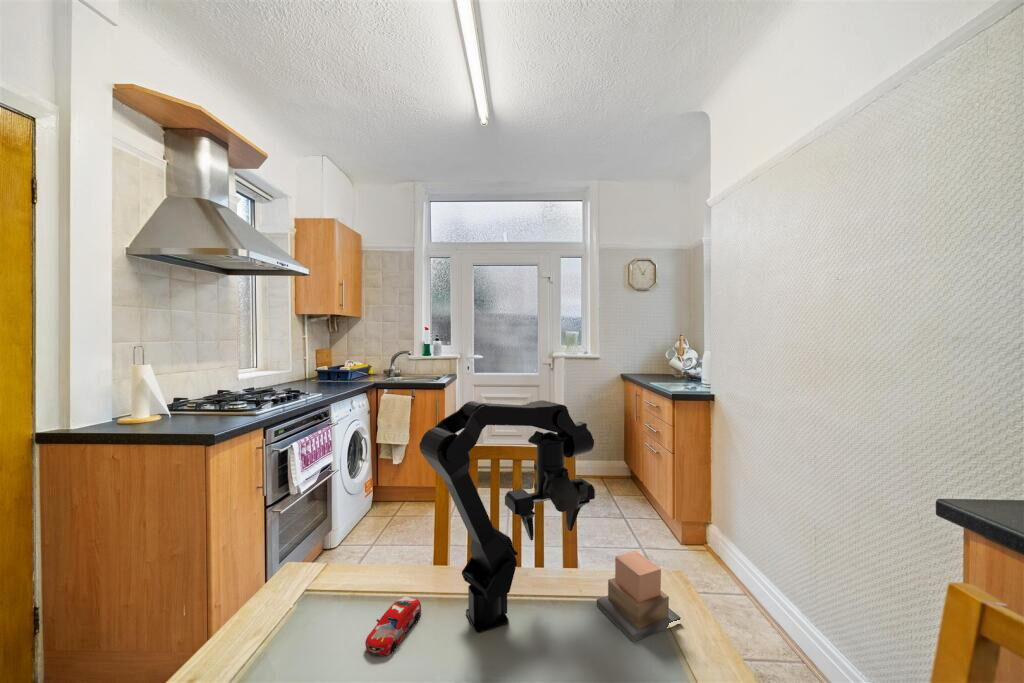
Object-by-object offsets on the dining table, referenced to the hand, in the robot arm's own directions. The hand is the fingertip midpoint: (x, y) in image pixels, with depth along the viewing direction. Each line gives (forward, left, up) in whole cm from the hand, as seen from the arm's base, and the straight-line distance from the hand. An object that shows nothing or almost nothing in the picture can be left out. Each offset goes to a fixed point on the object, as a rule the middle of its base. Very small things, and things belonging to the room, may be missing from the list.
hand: (550, 534), depth 96 cm
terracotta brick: (+10, -15, -6) cm, 19 cm away
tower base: (+10, -15, -11) cm, 21 cm away
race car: (-33, 0, -12) cm, 35 cm away
